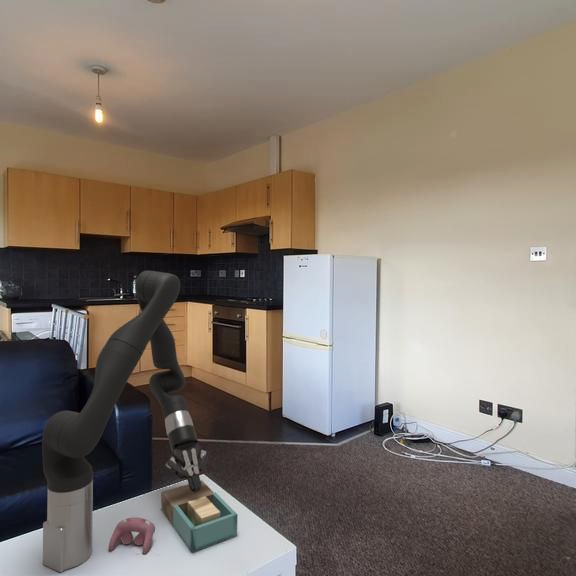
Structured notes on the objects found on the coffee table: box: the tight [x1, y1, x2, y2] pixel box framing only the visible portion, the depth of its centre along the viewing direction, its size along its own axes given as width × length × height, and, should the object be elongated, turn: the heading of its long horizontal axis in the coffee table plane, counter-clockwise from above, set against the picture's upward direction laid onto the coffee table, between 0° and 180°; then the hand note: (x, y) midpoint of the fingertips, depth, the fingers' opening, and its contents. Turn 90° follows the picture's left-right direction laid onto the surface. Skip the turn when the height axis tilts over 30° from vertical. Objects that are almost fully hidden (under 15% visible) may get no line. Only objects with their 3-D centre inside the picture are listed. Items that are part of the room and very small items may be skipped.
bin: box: [172, 491, 238, 554], centre depth 106 cm, size 13×12×6 cm
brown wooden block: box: [160, 479, 215, 527], centre depth 115 cm, size 9×12×5 cm
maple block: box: [188, 496, 220, 527], centre depth 107 cm, size 5×5×9 cm
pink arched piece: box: [108, 517, 156, 554], centre depth 100 cm, size 10×5×7 cm, turn 85°
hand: (196, 490), depth 110 cm, fingers closed
